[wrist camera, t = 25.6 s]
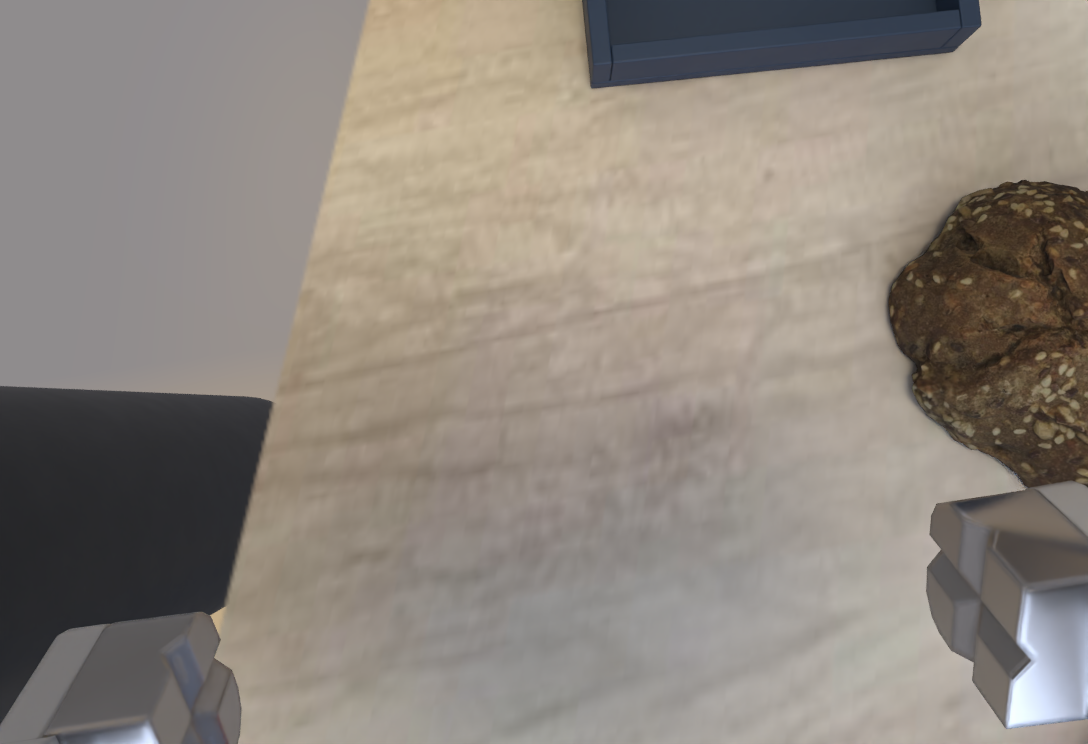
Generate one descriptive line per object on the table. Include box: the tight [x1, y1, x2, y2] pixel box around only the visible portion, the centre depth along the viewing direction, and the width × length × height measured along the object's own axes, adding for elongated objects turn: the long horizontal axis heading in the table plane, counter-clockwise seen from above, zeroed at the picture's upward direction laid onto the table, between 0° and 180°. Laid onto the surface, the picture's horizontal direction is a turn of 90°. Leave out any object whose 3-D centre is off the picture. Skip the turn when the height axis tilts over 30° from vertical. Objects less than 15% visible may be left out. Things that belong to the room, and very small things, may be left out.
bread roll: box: [889, 180, 1088, 488], centre depth 34 cm, size 13×12×5 cm
